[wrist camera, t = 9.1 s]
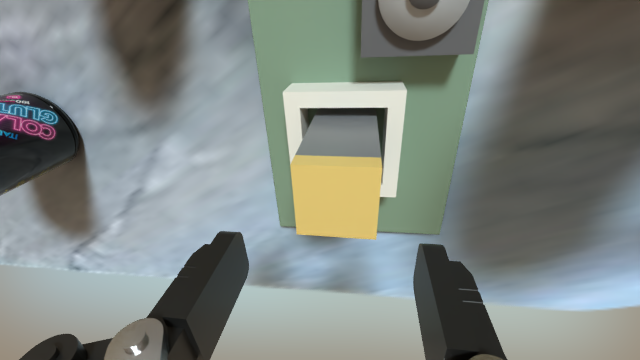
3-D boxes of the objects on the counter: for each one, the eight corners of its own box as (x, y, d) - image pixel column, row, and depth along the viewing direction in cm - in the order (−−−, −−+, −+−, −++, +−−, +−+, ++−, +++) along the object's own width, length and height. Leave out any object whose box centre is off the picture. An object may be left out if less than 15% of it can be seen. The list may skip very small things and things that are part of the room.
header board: (504, -116, 15) (555, -163, 11) (436, 225, 26) (449, 264, 22) (242, -88, 17) (204, -119, 13) (283, 218, 27) (269, 252, 24)
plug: (375, 107, 20) (382, 167, 12) (372, 159, 22) (376, 239, 14) (318, 107, 20) (290, 164, 13) (320, 158, 22) (296, 234, 15)
